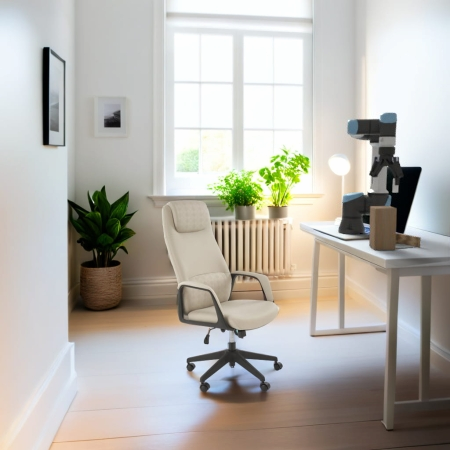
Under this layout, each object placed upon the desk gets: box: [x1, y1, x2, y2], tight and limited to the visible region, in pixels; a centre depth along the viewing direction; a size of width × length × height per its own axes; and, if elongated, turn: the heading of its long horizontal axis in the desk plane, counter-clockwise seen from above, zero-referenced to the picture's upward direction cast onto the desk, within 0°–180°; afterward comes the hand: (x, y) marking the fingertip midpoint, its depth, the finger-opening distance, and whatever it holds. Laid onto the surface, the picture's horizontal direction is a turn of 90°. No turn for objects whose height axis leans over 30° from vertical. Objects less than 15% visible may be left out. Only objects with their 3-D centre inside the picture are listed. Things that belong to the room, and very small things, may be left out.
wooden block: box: [368, 205, 397, 251], centre depth 239 cm, size 10×10×20 cm
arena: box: [395, 232, 421, 250], centre depth 248 cm, size 15×14×5 cm
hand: (384, 191), depth 237 cm, fingers open, 13 cm apart
